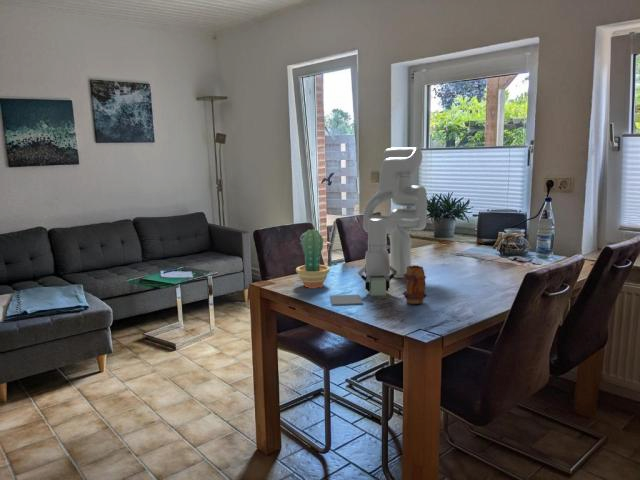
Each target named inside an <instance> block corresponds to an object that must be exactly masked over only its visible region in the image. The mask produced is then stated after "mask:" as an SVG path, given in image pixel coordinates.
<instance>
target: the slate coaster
mask: <svg viewBox="0 0 640 480" xmlns="http://www.w3.org/2000/svg"><path fill="white" fill-rule="evenodd" d="M330 298H331V299H330ZM329 299H330V303H331V302H332V303H331V306H332V305H336V306H354V305H355V306H357V305H358V306H359V305H360V306H361V305H364V301H363V300H362V298H361V295H360V294H342V295H340V294H337V295H336V294H335V295H334V294H333V295H329Z"/></svg>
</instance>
